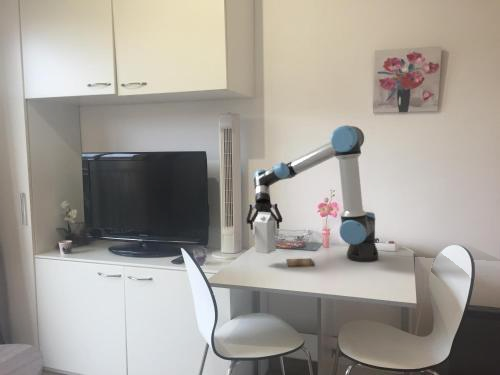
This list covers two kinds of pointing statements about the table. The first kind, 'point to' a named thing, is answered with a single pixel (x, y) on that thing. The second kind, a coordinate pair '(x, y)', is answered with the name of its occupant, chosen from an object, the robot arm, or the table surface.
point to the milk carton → (265, 233)
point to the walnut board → (300, 262)
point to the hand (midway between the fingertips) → (265, 234)
